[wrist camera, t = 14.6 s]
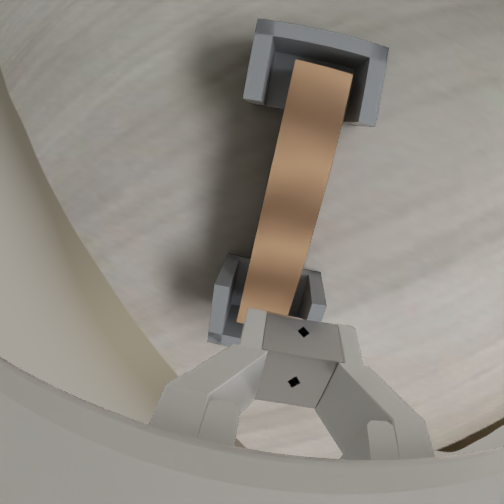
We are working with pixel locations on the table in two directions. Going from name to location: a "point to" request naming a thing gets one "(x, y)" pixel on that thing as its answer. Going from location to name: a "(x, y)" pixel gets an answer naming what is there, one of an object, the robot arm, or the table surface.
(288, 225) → the slat
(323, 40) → the endcap
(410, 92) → the table surface
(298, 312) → the endcap
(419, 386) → the table surface
